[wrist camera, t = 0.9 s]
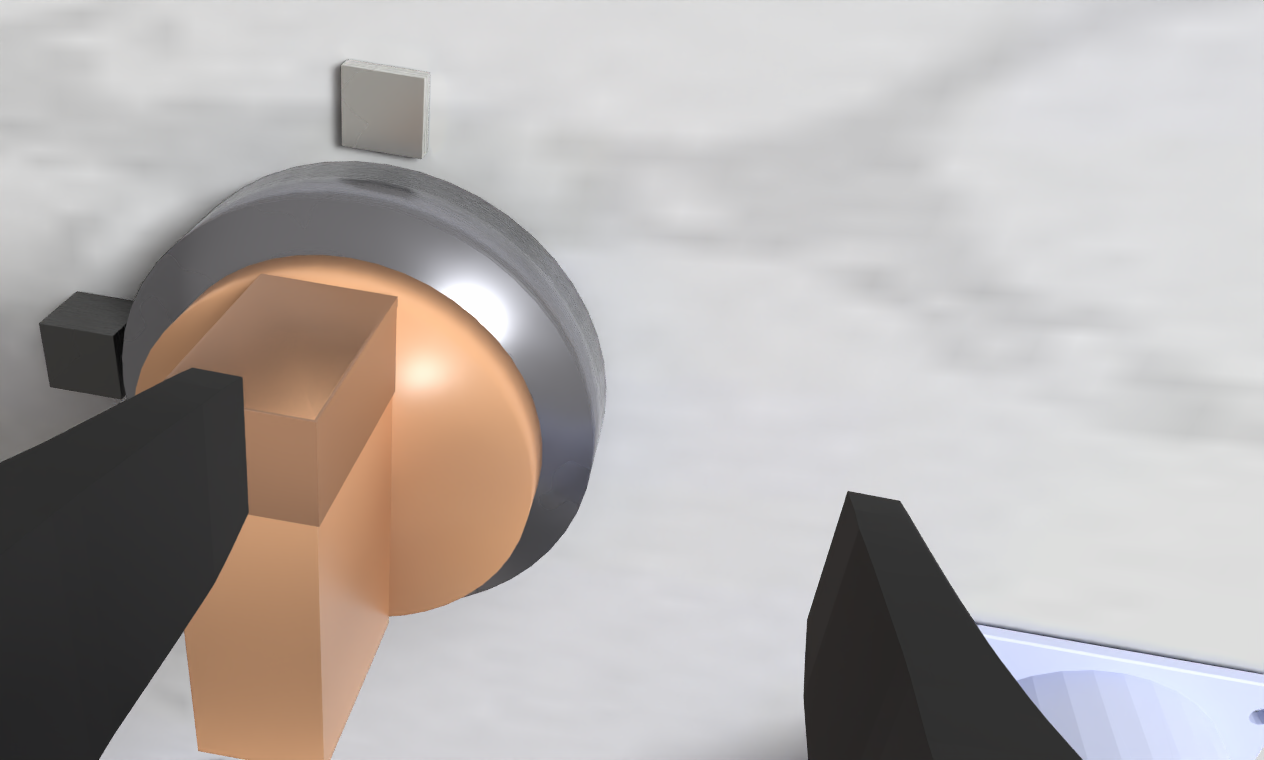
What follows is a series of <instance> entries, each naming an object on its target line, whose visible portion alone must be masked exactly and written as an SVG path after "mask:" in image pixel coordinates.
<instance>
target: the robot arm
mask: <svg viewBox="0 0 1264 760" xmlns="http://www.w3.org/2000/svg"><path fill="white" fill-rule="evenodd" d="M248 513H249V505H248V483H247V461H246V439H245V417H244V396H243V377H240V376H235V375H230V374H224V373H219V372H214V371H208V370H203V369H198V368H193V367H192V368H190V369H188V370H186V371H183V372H181V373H179V374H177V375H175V376H173V377H170V378H168V379H166V380H164V381H162V382H160V383H158V384H156V385H155V386H153V387H151V388H149V389H147V390H145V391H143V392H141V393H139V394H137V395H135V396H133V397H131V398H130V399H128V400H126V401H124V402H122V403H120V404H118V405H116V406H114V407H112V408H110V409H109V410H107V411H105V412H103V413H101V414H99V415H97V416H95V417H93V418H91V419H89V420H87V421H85V422H83V423H81V424H79V425H77V426H75V427H73V428H71V429H69V430H67V431H66V432H64V433H62V434H60V435H58V436H56V437H54V438H52V439H50V440H48V441H46V442H44V443H42V444H40V445H38V446H36V447H33V448H31V449H29V450H27V451H25V452H23V453H20V454H18V455H16V456H14V457H12V458H9V459H7V460H5V461H3V462H1V463H0V760H99V758H100V757H101V755H102V754H103V752H104V750H105V749H106V747H107V745H108V744H109V742H110V740H111V739H112V737H113V736H114V734H115V732H116V731H117V729H118V728H119V726H120V725H121V724H122V722H123V721H124V719H125V718H126V716H127V715H128V713H129V712H130V710H131V709H132V707H133V706H134V704H135V703H136V701H137V700H138V698H139V697H140V695H141V694H142V692H143V691H144V689H145V688H146V686H147V685H148V683H149V682H150V680H151V679H152V677H153V676H154V674H155V673H156V672H157V670H158V669H159V667H160V666H161V664H162V663H163V661H164V660H165V658H166V657H167V655H168V654H169V652H170V651H171V649H172V648H173V646H174V645H175V643H176V642H177V640H178V639H179V637H180V636H181V634H182V633H183V631H184V630H185V628H186V627H187V625H188V624H189V622H190V621H191V619H192V618H193V616H194V615H195V613H196V612H197V610H198V609H199V607H200V606H201V604H202V603H203V601H204V599H205V598H206V596H207V595H208V593H209V592H210V590H211V589H212V587H213V585H214V584H215V582H216V580H217V578H218V576H219V574H220V572H221V570H222V568H223V566H224V564H225V562H226V560H227V558H228V556H229V554H230V552H231V550H232V548H233V546H234V544H235V541H236V539H237V537H238V535H239V533H240V531H241V529H242V526H243V524H244V522H245V520H246V518H247V516H248ZM1259 709H1262V710H1260V711H1257V712H1253V711H1256V710H1259ZM804 710H805V724H806V737H807V750H808V760H1255V759H1256V758H1257V756H1258V755H1259V753H1260V752H1261V750H1262V748H1263V747H1264V675H1262V674H1257V673H1251V672H1245V671H1240V670H1234V669H1228V668H1222V667H1217V666H1211V665H1205V664H1200V663H1194V662H1188V661H1183V660H1177V659H1171V658H1165V657H1160V656H1154V655H1148V654H1143V653H1137V652H1131V651H1126V650H1120V649H1114V648H1108V647H1103V646H1097V645H1091V644H1086V643H1080V642H1074V641H1069V640H1063V639H1057V638H1051V637H1046V636H1040V635H1034V634H1029V633H1023V632H1017V631H1012V630H1006V629H1000V628H994V627H989V626H983V625H976V623H975V622H974V620H973V619H972V617H971V616H970V614H969V613H968V611H967V610H966V608H965V607H964V605H963V604H962V602H961V601H960V599H959V597H958V596H957V594H956V593H955V591H954V589H953V588H952V586H951V585H950V583H949V581H948V580H947V578H946V577H945V575H944V573H943V572H942V570H941V568H940V567H939V565H938V563H937V562H936V560H935V558H934V557H933V555H932V553H931V552H930V550H929V548H928V547H927V545H926V543H925V542H924V540H923V538H922V537H921V535H920V533H919V531H918V530H917V528H916V526H915V525H914V523H913V521H912V520H911V518H910V516H909V515H908V513H907V511H906V510H905V508H904V507H903V505H902V504H901V502H900V501H898V500H892V499H887V498H882V497H876V496H871V495H866V494H861V493H855V492H850V491H848V492H847V495H846V498H845V502H844V505H843V508H842V511H841V514H840V517H839V521H838V524H837V527H836V530H835V533H834V536H833V540H832V543H831V546H830V549H829V552H828V555H827V559H826V562H825V565H824V568H823V571H822V574H821V578H820V581H819V584H818V587H817V590H816V593H815V596H814V600H813V603H812V606H811V609H810V612H809V615H808V619H807V633H806V651H805V673H804Z"/></svg>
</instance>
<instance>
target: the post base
mask: <svg viewBox="0 0 1264 760" xmlns="http://www.w3.org/2000/svg"><path fill="white" fill-rule="evenodd" d="M429 90H430V73H429V72H423V71H417V70H411V69H405V68H399V67H392V66H386V65H380V64H374V63H368V62H362V61H356V60H349V59H348V60H347V61H345V62H344V63H343V64H342V65H341V109H342V146H346V147H352V148H358V149H364V150H370V151H376V152H382V153H388V154H394V155H400V156H406V157H412V158H418V159H422V158H423V157H424V156H425V155H426V153H427V152H428V121H429ZM295 255H329V256H338V257H347V258H353V259H358V260H362V261H366V262H371V263H375V264H379V265H382V266H385V267H387V268H390V269H393V270H396V271H399V272H402V273H404V274H407V275H409V276H411V277H413V278H415V279H417V280H419V281H421V282H423V283H425V284H427V285H429V286H431V287H433V288H434V289H436V290H438V291H439V292H441V293H442V294H444V295H446V296H447V297H449V298H450V299H452V300H454V301H455V302H456V303H457V304H459V305H460V306H461V307H462V308H464V309H465V310H466V311H467V312H469V313H470V314H471V315H473V316H474V317H475V318H476V319H477V320H478V321H479V322H480V323H481V324H482V325H483V326H484V327H485V328H486V329H487V330H488V331H489V332H490V333H491V334H492V335H493V336H494V337H495V338H496V339H497V341H498V342H499V343H500V344H501V346H502V347H503V348H504V349H505V351H506V352H507V353H508V354H509V356H510V357H511V359H512V360H513V362H514V363H515V365H516V367H517V368H518V370H519V372H520V373H521V375H522V377H523V378H524V380H525V383H526V385H527V387H528V389H529V392H530V394H531V396H532V398H533V401H534V404H535V408H536V411H537V415H538V419H539V422H540V429H541V437H542V467H541V472H540V477H539V482H538V486H537V490H536V493H535V496H534V499H533V503H532V506H531V509H530V512H529V515H528V519H527V522H526V524H525V527H524V530H523V532H522V535H521V538H520V540H519V542H518V544H517V545H516V547H515V549H514V550H513V552H512V554H511V556H510V557H509V558H508V560H507V561H506V562H505V563H504V564H503V566H502V567H501V568H500V569H499V570H498V572H497V573H495V574H494V575H493V576H492V577H491V578H490V579H489V580H487V581H486V582H485V583H484V584H483V585H482V586H480V587H478V588H477V589H475V590H474V591H472V592H471V593H469V594H468V595H466V596H469V595H473V594H476V593H479V592H482V591H485V590H488V589H491V588H493V587H495V586H497V585H499V584H501V583H504V582H506V581H508V580H510V579H512V578H513V577H515V576H517V575H518V574H520V573H521V572H523V571H524V570H526V569H527V568H529V567H531V566H532V565H533V564H534V563H535V562H537V561H538V560H539V559H540V558H541V557H542V556H544V555H545V554H546V553H547V552H548V551H549V550H550V549H551V548H552V547H553V546H554V544H555V543H556V542H557V541H558V540H559V539H560V537H561V536H562V535H563V534H564V533H565V531H566V530H567V528H568V526H569V525H570V523H571V521H572V520H573V518H574V516H575V515H576V513H577V511H578V509H579V506H580V504H581V501H582V499H583V496H584V494H585V491H586V489H587V485H588V481H589V477H590V473H591V469H592V465H593V461H594V457H595V452H596V448H597V444H598V440H599V436H600V432H601V427H602V423H603V418H604V414H605V400H606V379H605V369H604V360H603V356H602V352H601V348H600V344H599V340H598V336H597V333H596V331H595V328H594V326H593V323H592V320H591V318H590V315H589V313H588V310H587V308H586V307H585V305H584V303H583V301H582V299H581V298H580V296H579V294H578V292H577V290H576V289H575V287H574V285H573V283H572V282H571V281H570V279H569V278H568V277H567V275H566V274H565V273H564V271H563V270H562V269H561V267H560V266H559V265H558V263H557V262H556V260H555V259H554V258H553V257H552V256H551V255H550V254H549V253H548V252H547V251H546V250H545V249H544V248H543V247H542V245H541V244H540V243H539V242H538V241H537V240H536V239H535V238H534V237H533V236H532V235H531V234H529V233H528V232H527V231H526V230H525V229H523V228H522V227H521V226H520V225H519V224H517V223H516V222H515V221H514V220H513V219H511V218H510V217H509V216H508V215H506V214H505V213H503V212H502V211H500V210H498V209H497V208H495V207H494V206H492V205H491V204H489V203H488V202H486V201H485V200H483V199H482V198H480V197H478V196H476V195H474V194H472V193H470V192H468V191H466V190H464V189H462V188H460V187H458V186H456V185H454V184H452V183H449V182H446V181H444V180H441V179H438V178H435V177H432V176H430V175H427V174H424V173H421V172H418V171H414V170H409V169H405V168H400V167H396V166H392V165H387V164H377V163H367V162H358V161H349V162H323V163H317V164H310V165H304V166H298V167H294V168H290V169H287V170H284V171H281V172H278V173H274V174H271V175H268V176H266V177H264V178H262V179H260V180H258V181H256V182H254V183H252V184H250V185H248V186H245V187H243V188H242V189H240V190H239V191H238V192H236V193H235V194H233V195H232V196H230V197H229V198H228V199H226V200H225V201H223V202H222V203H221V204H220V205H218V206H217V207H216V208H215V209H214V210H213V211H212V212H211V213H209V214H208V215H207V216H206V217H205V218H204V219H203V220H202V221H200V222H199V223H198V224H197V225H196V226H195V227H194V228H193V229H191V230H190V231H189V232H188V233H187V234H186V235H185V236H184V237H182V238H181V239H180V240H179V241H178V242H177V243H176V244H175V245H174V246H173V247H172V248H171V249H170V250H169V251H168V252H167V253H166V254H165V255H164V256H163V257H162V258H161V259H160V260H159V261H158V262H157V263H156V265H155V266H154V267H153V269H152V270H151V272H150V273H149V275H148V276H147V277H146V279H145V280H144V282H143V283H142V285H141V287H140V289H139V291H138V294H137V296H136V298H135V300H134V301H130V300H124V299H118V298H112V297H106V296H101V295H95V294H89V293H83V292H76V293H75V294H74V295H73V296H71V297H70V298H69V299H68V300H67V301H65V302H64V303H63V304H62V305H61V306H59V307H58V308H57V309H56V310H55V311H53V312H52V313H51V314H50V315H49V316H47V317H46V318H45V319H44V320H43V321H41V322H40V323H39V326H40V331H41V337H42V343H43V348H44V354H45V360H46V365H47V371H48V376H49V382H50V387H54V388H59V389H65V390H71V391H77V392H82V393H88V394H94V395H100V396H105V397H111V398H117V399H122V398H123V397H124V396H125V395H126V397H127V400H128V399H130V398H131V397H133V396H135V392H136V386H137V383H138V379H139V376H140V372H141V369H142V367H143V365H144V363H145V361H146V359H147V356H148V354H149V352H150V350H151V349H152V347H153V346H154V345H155V343H156V342H157V341H158V339H159V338H160V337H161V335H162V334H163V333H164V331H165V330H166V329H167V328H168V327H169V326H170V325H171V324H172V323H173V322H174V321H175V320H176V319H177V318H178V317H179V316H180V315H181V314H182V313H183V312H184V311H185V310H186V309H187V308H188V307H189V306H190V305H191V304H192V303H193V302H194V301H195V300H196V299H197V298H198V297H199V296H200V295H201V294H202V293H204V292H205V291H206V290H207V289H208V288H209V287H211V286H212V285H214V284H215V283H217V282H218V281H219V280H221V279H222V278H224V277H225V276H227V275H229V274H231V273H234V272H236V271H238V270H240V269H242V268H244V267H247V266H249V265H253V264H256V263H259V262H263V261H266V260H270V259H275V258H282V257H289V256H295ZM466 596H464V597H466ZM462 598H463V597H462Z"/></svg>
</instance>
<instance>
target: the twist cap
mask: <svg viewBox="0 0 1264 760" xmlns="http://www.w3.org/2000/svg"><path fill="white" fill-rule="evenodd" d="M192 367H193V368H198V369H203V370H208V371H214V372H219V373H224V374H230V375H235V376H240V377H243V396H244V417H245V439H246V461H247V483H248V505H249V513H248V516H247V518H246V520H245V522H244V524H243V526H242V529H241V531H240V533H239V535H238V537H237V539H236V541H235V544H234V546H233V548H232V550H231V552H230V554H229V556H228V558H227V560H226V562H225V564H224V566H223V568H222V570H221V572H220V574H219V576H218V578H217V580H216V582H215V584H214V585H213V587H212V589H211V590H210V592H209V593H208V595H207V596H206V598H205V599H204V601H203V603H202V604H201V606H200V607H199V609H198V610H197V612H196V613H195V615H194V616H193V618H192V619H191V621H190V622H189V624H188V625H187V627H186V628H185V630H184V634H185V642H186V651H187V659H188V668H189V676H190V685H191V693H192V702H193V710H194V719H195V727H196V736H197V744H198V751H201V752H206V753H212V754H217V755H223V756H228V757H234V758H239V759H245V760H330V759H331V757H332V755H333V752H334V750H335V748H336V745H337V743H338V741H339V738H340V736H341V734H342V731H343V729H344V727H345V724H346V722H347V719H348V717H349V715H350V712H351V710H352V708H353V705H354V703H355V701H356V698H357V696H358V694H359V691H360V689H361V687H362V684H363V682H364V680H365V677H366V675H367V673H368V670H369V668H370V666H371V663H372V661H373V659H374V656H375V654H376V652H377V649H378V647H379V644H380V642H381V640H382V637H383V635H384V633H385V630H386V628H387V626H388V623H389V616H401V615H408V614H414V613H419V612H424V611H428V610H431V609H434V608H438V607H441V606H444V605H447V604H449V603H451V602H453V601H455V600H458V599H460V598H462V597H464V596H466V595H468V594H469V593H471V592H472V591H474V590H475V589H477V588H478V587H480V586H482V585H483V584H484V583H485V582H486V581H487V580H489V579H490V578H491V577H492V576H493V575H494V574H495V573H497V572H498V570H499V569H500V568H501V567H502V566H503V564H504V563H505V562H506V561H507V560H508V558H509V557H510V556H511V554H512V552H513V550H514V549H515V547H516V545H517V544H518V542H519V540H520V538H521V535H522V532H523V530H524V527H525V524H526V522H527V519H528V515H529V512H530V509H531V506H532V503H533V499H534V496H535V493H536V490H537V486H538V482H539V477H540V472H541V467H542V437H541V429H540V422H539V419H538V415H537V411H536V408H535V404H534V401H533V398H532V396H531V394H530V392H529V389H528V387H527V385H526V383H525V380H524V378H523V377H522V375H521V373H520V372H519V370H518V368H517V367H516V365H515V363H514V362H513V360H512V359H511V357H510V356H509V354H508V353H507V352H506V351H505V349H504V348H503V347H502V346H501V344H500V343H499V342H498V341H497V339H496V338H495V337H494V336H493V335H492V334H491V333H490V332H489V331H488V330H487V329H486V328H485V327H484V326H483V325H482V324H481V323H480V322H479V321H478V320H477V319H476V318H475V317H474V316H473V315H471V314H470V313H469V312H467V311H466V310H465V309H464V308H462V307H461V306H460V305H459V304H457V303H456V302H455V301H454V300H452V299H450V298H449V297H447V296H446V295H444V294H442V293H441V292H439V291H438V290H436V289H434V288H433V287H431V286H429V285H427V284H425V283H423V282H421V281H419V280H417V279H415V278H413V277H411V276H409V275H407V274H404V273H402V272H399V271H396V270H393V269H390V268H387V267H385V266H382V265H379V264H375V263H371V262H366V261H362V260H358V259H353V258H347V257H338V256H329V255H295V256H289V257H282V258H275V259H270V260H266V261H263V262H259V263H256V264H253V265H249V266H247V267H244V268H242V269H240V270H238V271H236V272H234V273H231V274H229V275H227V276H225V277H224V278H222V279H221V280H219V281H218V282H217V283H215V284H214V285H212V286H211V287H209V288H208V289H207V290H206V291H205V292H204V293H202V294H201V295H200V296H199V297H198V298H197V299H196V300H195V301H194V302H193V303H192V304H191V305H190V306H189V307H188V308H187V309H186V310H185V311H184V312H183V313H182V314H181V315H180V316H179V317H178V318H177V319H176V320H175V321H174V322H173V323H172V324H171V325H170V326H169V327H168V328H167V329H166V330H165V331H164V333H163V334H162V335H161V337H160V338H159V339H158V341H157V342H156V343H155V345H154V346H153V347H152V349H151V350H150V352H149V354H148V356H147V359H146V361H145V363H144V365H143V367H142V369H141V372H140V376H139V379H138V383H137V386H136V392H135V395H137V394H139V393H141V392H143V391H145V390H147V389H149V388H151V387H153V386H155V385H156V384H158V383H160V382H162V381H164V380H166V379H168V378H170V377H173V376H175V375H177V374H179V373H181V372H183V371H186V370H188V369H190V368H192Z"/></svg>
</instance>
